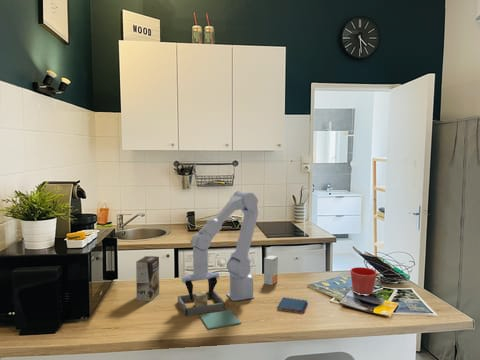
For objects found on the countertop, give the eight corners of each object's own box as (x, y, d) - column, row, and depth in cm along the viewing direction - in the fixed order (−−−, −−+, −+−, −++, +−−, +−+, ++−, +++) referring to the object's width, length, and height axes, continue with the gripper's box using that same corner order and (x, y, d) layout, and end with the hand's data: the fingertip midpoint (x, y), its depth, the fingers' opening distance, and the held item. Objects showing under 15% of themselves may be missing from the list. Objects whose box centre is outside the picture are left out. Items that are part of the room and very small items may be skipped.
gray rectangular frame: (214, 296, 155) (214, 290, 154) (225, 309, 142) (225, 303, 142) (177, 302, 149) (177, 296, 149) (185, 316, 136) (185, 309, 136)
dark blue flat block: (281, 300, 151) (281, 296, 151) (307, 304, 148) (308, 299, 148) (275, 311, 141) (276, 306, 141) (303, 315, 138) (303, 310, 138)
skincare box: (272, 285, 167) (272, 259, 166) (263, 283, 170) (263, 258, 169) (277, 281, 172) (278, 256, 171) (269, 279, 175) (269, 255, 174)
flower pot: (378, 291, 160) (379, 269, 159) (372, 300, 151) (373, 276, 150) (354, 286, 166) (354, 265, 165) (346, 294, 156) (347, 272, 156)
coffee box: (150, 301, 150) (150, 262, 148) (136, 300, 151) (135, 261, 150) (160, 293, 158) (159, 256, 157) (146, 292, 160) (145, 255, 158)
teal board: (230, 311, 140) (230, 309, 140) (240, 323, 130) (240, 322, 130) (199, 316, 136) (199, 315, 136) (208, 329, 126) (208, 328, 126)
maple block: (204, 303, 148) (204, 291, 148) (207, 307, 144) (207, 294, 144) (194, 304, 147) (194, 292, 146) (197, 308, 143) (197, 296, 142)
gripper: (184, 269, 138) (184, 304, 139) (221, 265, 143) (221, 299, 144) (180, 263, 144) (180, 297, 145) (215, 260, 150) (216, 292, 151)
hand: (200, 298), depth 145 cm, fingers open, 7 cm apart
